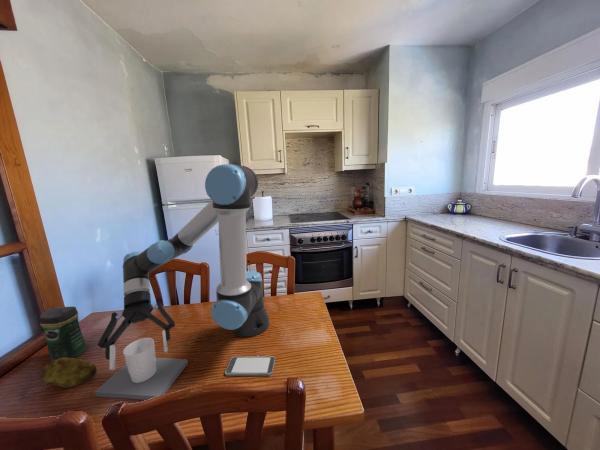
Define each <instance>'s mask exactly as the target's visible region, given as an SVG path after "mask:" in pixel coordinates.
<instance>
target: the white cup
mask: <svg viewBox="0 0 600 450" xmlns="http://www.w3.org/2000/svg"><path fill="white" fill-rule="evenodd" d="M122 354H123V357H124V361H125V364H126V365H127V368H128V372H129V374H130V377H131V380H132V381H133V382H134V383H140V382H144V381H146V380H148V379H150V378H151V377H152V376H153V375H154V374H155V372H156V358H157V356H156V348H155V340H154V339H153V338H151V337H144V338H140V339H136V340H134V341H133V342H130V343H129V344H128V345H126V346H125V347H124V348H123V350H122Z"/></svg>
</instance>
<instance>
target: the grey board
mask: <svg viewBox="0 0 600 450" xmlns="http://www.w3.org/2000/svg"><path fill="white" fill-rule="evenodd" d="M188 364H189V363H188V359H187V358H186V359H184V358H183V359H182V358H168V357H167V358H166V357H164V358H163V357H156V372H155V374H154V375H153V376H152V377H151V378H150V379H148V380H146V381H144V382H140V383H134V382H133V381H132V380H131V377H130V374H129V372H128V368H127V365H126V363H125V364H124V365H123V366H122V367H121V368H119V369H117V371H116V372H115V373H114V374H113V375H112V376H111V377H110V378H108V380H107V381H105V382H104V383H103V384H102V385H101V386H100V387H99V388H97V390H95V392H94V393H95V396H96V397H99V398H101V397H102V398H111V399H112V398H115V399H126V398H130V400H139V401H140V400H143V401H148V400H147V399H150V398H153V397H156V396H159V395H163V394H164V395H166V393H167V392H168V390H170V388H171V386H172V385H173V384H174V382H176V380H177V378H178V377H179V376H180V375H181V374H182V372H183V371H184V369H185V368H186V367H187V365H188Z"/></svg>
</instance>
